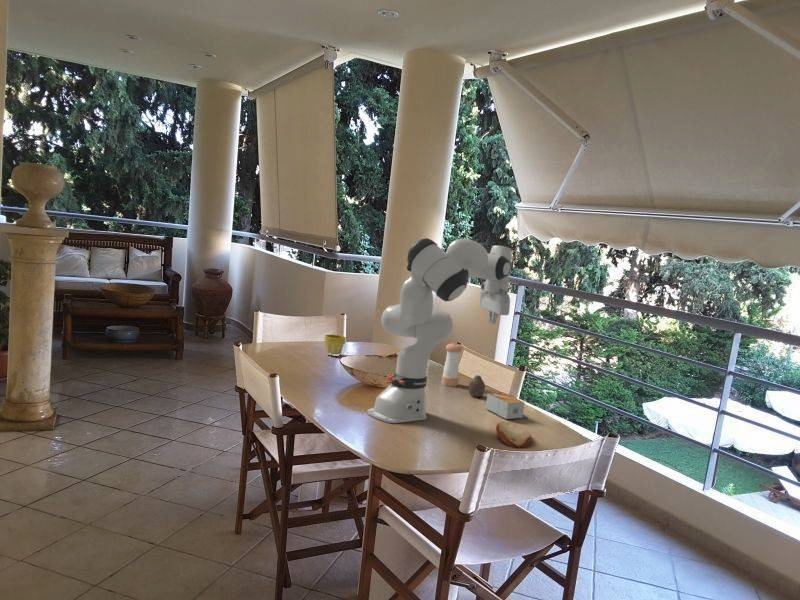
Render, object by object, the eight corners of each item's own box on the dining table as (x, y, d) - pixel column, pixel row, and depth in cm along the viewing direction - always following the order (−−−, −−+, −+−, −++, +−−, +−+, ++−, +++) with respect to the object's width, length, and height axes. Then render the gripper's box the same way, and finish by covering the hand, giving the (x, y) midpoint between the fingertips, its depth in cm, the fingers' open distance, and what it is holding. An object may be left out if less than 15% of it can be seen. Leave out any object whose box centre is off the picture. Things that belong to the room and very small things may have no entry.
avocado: (479, 399, 245) (482, 379, 244) (464, 395, 249) (467, 375, 248) (486, 396, 251) (489, 376, 250) (471, 392, 255) (474, 373, 254)
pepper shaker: (457, 383, 269) (462, 341, 267) (457, 387, 262) (462, 344, 259) (441, 381, 269) (446, 339, 267) (441, 385, 262) (446, 342, 260)
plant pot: (335, 352, 305) (337, 333, 304) (347, 356, 298) (349, 337, 296) (319, 353, 298) (320, 334, 297) (331, 358, 291) (333, 338, 289)
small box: (508, 402, 220) (487, 392, 232) (506, 419, 221) (485, 408, 232) (525, 401, 224) (503, 392, 235) (522, 418, 225) (501, 407, 236)
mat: (528, 418, 226) (528, 417, 226) (501, 418, 223) (501, 417, 223) (512, 407, 239) (512, 406, 239) (486, 406, 237) (487, 405, 236)
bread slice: (502, 425, 216) (503, 415, 215) (546, 441, 204) (547, 430, 204) (473, 434, 203) (474, 423, 202) (519, 451, 191) (520, 440, 190)
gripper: (516, 291, 219) (511, 328, 220) (493, 285, 238) (489, 319, 240) (500, 290, 217) (495, 327, 219) (479, 283, 236) (474, 318, 238)
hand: (492, 323), depth 229 cm, fingers closed
